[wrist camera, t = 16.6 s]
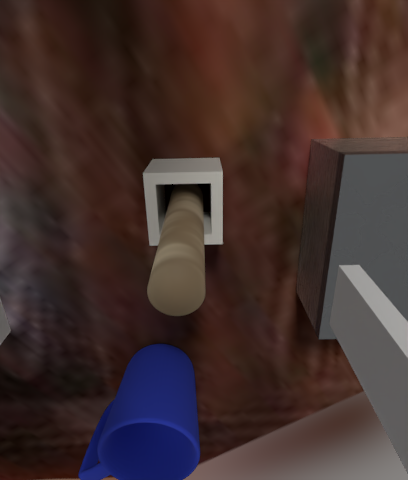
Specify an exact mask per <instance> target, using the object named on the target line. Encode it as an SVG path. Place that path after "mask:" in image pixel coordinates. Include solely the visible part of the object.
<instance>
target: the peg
mask: <svg viewBox="0 0 408 480" xmlns="http://www.w3.org/2000/svg"><path fill="white" fill-rule="evenodd" d="M147 294H148V298H149V300H150V302H151V304H152V305H153V306H154V307H155V308H156V309H157V310H159V311H160V312H162V313H164V314H167V315H171V316H183V315H187V314H190V313H192V312H194V311H195V310H197V309H198V308H199V307H200V306H201V304H202V303H203V301H204V298H205V253H204V213H203V193H202V190H201V188H200V187H199V186H198V185H197V184H177V185H176V186H175V187H174V188H173V190H172V193H171V197H170V201H169V205H168V209H167V213H166V217H165V221H164V224H163V228H162V232H161V236H160V240H159V244H158V248H157V252H156V256H155V260H154V263H153V267H152V271H151V275H150V279H149V283H148V287H147Z"/></svg>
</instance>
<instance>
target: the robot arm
mask: <svg viewBox="0 0 408 480" xmlns="http://www.w3.org/2000/svg"><path fill="white" fill-rule="evenodd" d="M329 324H330V326H331V328H332V330H333V332H334V334H335V336H336V338H337V340H338V342H339V343H340V345H341V347H342V349H343V351H344V353H345V355H346V357H347V359H348V361H349V363H350V364H351V366H352V368H353V370H354V372H355V374H356V376H357V378H358V380H359V382H360V384H361V385H362V387H363V389H364V391H365V393H366V395H367V397H368V399H369V401H370V403H371V404H372V406H373V408H374V410H375V412H376V414H377V416H378V418H379V420H380V422H381V423H382V425H383V427H384V429H385V431H386V433H387V435H388V437H389V439H390V441H391V443H392V445H393V446H394V448H395V450H396V452H397V454H398V456H399V458H400V460H401V461H402V464H403V465H404V467H405V469H406V471H407V473H408V322H407V320H406V319H405V318H404V317H403V316H402V315H401V313H400V312H399V311H398V310H397V309H396V307H395V306H394V305H393V304H392V303H391V302H390V300H389V299H388V298H387V297H386V296H385V295H384V293H383V292H382V291H381V290H380V289H379V288H378V286H377V285H376V284H375V283H374V282H373V280H372V279H371V278H370V277H369V276H368V275H367V273H366V272H365V271H364V270H363V269H362V268H361V266H360V265H339V268H338V274H337V280H336V286H335V292H334V299H333V305H332V311H331V317H330V323H329ZM10 331H11V329H10V326H9V323H8V320H7V317H6V314H5V310H4V307H3V304H2V301H1V298H0V345H1V343H2V342H3V341H4V339H5V338H6V337H7V335H8V334H9V333H10Z"/></svg>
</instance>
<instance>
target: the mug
mask: <svg viewBox="0 0 408 480" xmlns="http://www.w3.org/2000/svg"><path fill="white" fill-rule="evenodd" d="M98 459H99V461H100V463H99V464H97V463H98ZM199 459H200V443H199V429H198V415H197V401H196V388H195V375H194V369H193V365H192V363H191V361H190V359H189V357H188V356H187V355H186V354H185V353H184V352H183V351H182V350H180V349H179V348H177V347H174V346H172V345H168V344H153V345H149V346H146V347H144V348H142V349H140V350H139V351H138V352H137V353H136V354H135V355H134V356H133V357H132V359H131V360H130V362H129V364H128V366H127V368H126V371H125V374H124V376H123V379H122V382H121V384H120V387H119V389H118V392H117V395H116V397H115V399H114V400H113V401H112V402H111V403H110V404H109V406H108V407H107V408H106V410H105V412H104V413H103V415H102V417H101V419H100V421H99V423H98V425H97V427H96V430H95V432H94V434H93V437H92V439H91V441H90V444H89V447H88V449H87V452H86V454H85V457H84V460H83V462H82V465H81V468H80V471H79V478H80V480H101V479H103V478H105V477H107V476H109V475H110V474H111V475H112V476H113V477H115V478H117V479H118V480H183V479H185V478H186V477H187V476H189V475H190V474H191V473H192V472H193V471H194V469H195V468H196V467H197V465H198V462H199Z"/></svg>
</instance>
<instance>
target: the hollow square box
mask: <svg viewBox="0 0 408 480" xmlns="http://www.w3.org/2000/svg"><path fill="white" fill-rule="evenodd" d="M143 181H144V192H145V202H146V213H147V224H148V235H149V246H158V244H159V240H160V236H161V232H162V228H163V224H164V221H165V217H166V204H165V189H164V184H202V183H210V212H203V213H204V245H208V244H223V171H222V167H221V162H220V158H183V159H152V161H151V162H150V164H149V165H148V166H147V168H146V169H145V171H144V172H143Z"/></svg>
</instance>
